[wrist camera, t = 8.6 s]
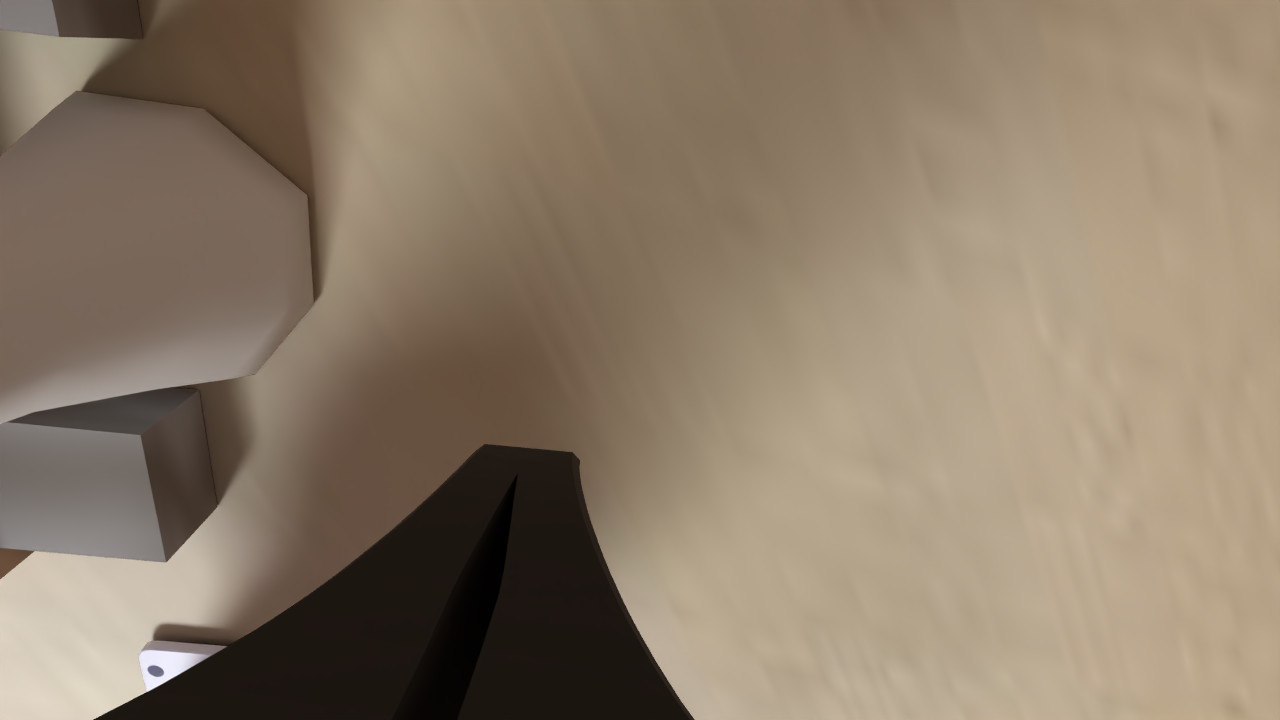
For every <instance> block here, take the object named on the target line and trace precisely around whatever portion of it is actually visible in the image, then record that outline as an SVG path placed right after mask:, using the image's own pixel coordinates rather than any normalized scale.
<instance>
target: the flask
mask: <svg viewBox="0 0 1280 720" xmlns="http://www.w3.org/2000/svg"><path fill="white" fill-rule="evenodd" d="M313 305H314V300H313V283H312V266H311V249H310V232H309V214H308V197H307V195H306V194H305V193H304V192H303V191H301V190H300V189H299V188H298V187H297V186H295V185H294V184H293V183H292V182H291V181H290V180H288V179H287V178H286V177H285V176H284V175H282V174H281V173H280V172H279V171H278V170H276V169H275V168H274V167H273V166H272V165H270V164H269V163H268V162H267V161H266V160H264V159H263V158H262V157H261V156H260V155H258V154H257V153H256V152H255V151H254V150H252V149H251V148H250V147H249V146H248V145H246V144H245V143H244V142H243V141H242V140H240V139H239V138H238V137H237V136H236V135H234V134H233V133H232V132H231V131H230V130H228V129H227V128H226V127H225V126H224V125H222V124H221V123H220V122H219V121H218V120H216V119H215V118H214V117H213V116H212V115H210V114H209V113H208V112H207V111H206V110H204V109H202V108H195V107H188V106H181V105H174V104H167V103H160V102H152V101H145V100H138V99H131V98H124V97H117V96H110V95H103V94H96V93H88V92H81V91H76V92H74V93H73V94H72V95H71V96H69V97H68V98H67V99H66V100H64V101H63V102H62V103H60V104H59V105H58V106H57V107H55V108H54V109H53V110H52V111H51V112H50V113H48V114H47V115H46V116H45V117H44V118H43V119H42V120H40V121H39V122H38V123H37V124H36V125H35V126H34V127H33V128H31V129H30V130H29V131H28V132H27V133H26V134H25V135H24V136H22V137H21V138H20V139H19V140H18V141H17V142H16V143H15V144H13V145H12V146H11V147H10V148H9V149H8V150H7V151H5V152H4V153H3V154H2V155H1V156H0V424H2V423H5V422H7V421H10V420H13V419H16V418H19V417H22V416H24V415H27V414H30V413H33V412H37V411H42V410H48V409H53V408H58V407H64V406H69V405H75V404H80V403H85V402H91V401H96V400H101V399H107V398H112V397H117V396H123V395H128V394H133V393H139V392H144V391H149V390H156V389H163V388H170V387H177V386H184V385H191V384H198V383H205V382H212V381H220V380H227V379H233V378H238V377H243V376H249V375H254V374H255V373H256V372H257V371H258V370H259V369H260V368H261V366H262V365H263V364H264V363H265V362H266V360H267V359H268V358H269V357H270V356H271V354H272V353H273V352H274V351H275V350H276V349H277V347H278V346H279V345H280V344H281V343H282V341H283V340H284V339H285V338H286V337H287V335H288V334H289V333H290V332H291V331H292V330H293V328H294V327H295V326H296V325H297V324H298V322H299V321H300V320H301V319H302V318H303V317H304V315H305V314H306V313H307V312H308V311H309V309H310V308H311V307H312V306H313Z"/></svg>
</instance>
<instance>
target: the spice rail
mask: <svg viewBox="0 0 1280 720" xmlns="http://www.w3.org/2000/svg"><path fill="white" fill-rule="evenodd" d="M0 29H1V30H9V31H17V32H25V33H33V34H41V35H49V36H57V37H87V38H126V39H143V34H142V28H141V22H140V16H139V9H138V3H137V0H0ZM216 508H217V501H216V495H215V489H214V482H213V476H212V470H211V463H210V457H209V451H208V445H207V438H206V432H205V426H204V419H203V413H202V407H201V400H200V394H199V390H194V389H184V388H174V387H170V388H163V389H156V390H149V391H144V392H139V393H133V394H128V395H123V396H117V397H112V398H107V399H101V400H96V401H91V402H85V403H80V404H75V405H69V406H64V407H58V408H53V409H48V410H42V411H37V412H33V413H30V414H27V415H24V416H22V417H19V418H16V419H13V420H10V421H7V422H5V423H2V424H0V579H1V578H2V577H4V576H5V575H6V574H7V573H8V572H10V571H11V570H12V569H13V568H15V567H16V566H17V565H18V564H19V563H21V562H22V561H23V560H24V559H25V558H27V557H28V556H29V555H30V554H31V553H33V552H34V551H41V552H53V553H64V554H76V555H87V556H98V557H110V558H121V559H132V560H144V561H155V562H167V561H168V560H169V559H170V558H171V557H172V556H173V555H174V554H175V552H176V551H177V550H178V549H179V548H180V547H181V546H182V545H183V544H184V543H185V542H186V540H187V539H188V538H189V537H190V536H191V535H192V534H193V533H194V532H195V531H196V530H197V529H198V527H199V526H200V525H201V524H202V523H203V522H204V521H205V520H206V519H207V518H208V517H209V516H210V514H211V513H212V512H213V511H214V510H215V509H216Z"/></svg>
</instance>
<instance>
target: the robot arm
mask: <svg viewBox="0 0 1280 720" xmlns="http://www.w3.org/2000/svg"><path fill="white" fill-rule="evenodd" d="M579 465H580V460H579V459H578V458H577V457H576V456H575V454H574V453H573V452H564V451H553V450H542V449H531V448H521V447H510V446H499V445H488V444H484V445H483V446H482V447H480V448H479V449H478V450H476V451H475V452H474V453H473V454H472V455H471V456H470V457H469V458H468V459H467V460H466V461H465V462H464V463H463V464H462V465H461V466H460V467H459V468H458V469H457V470H456V471H455V472H454V473H453V474H452V475H451V476H450V477H449V478H448V479H447V480H446V481H445V482H444V483H443V484H442V485H441V486H440V487H439V488H438V489H437V490H436V491H435V492H434V493H433V494H432V495H431V496H429V497H428V498H427V499H426V500H425V501H424V502H423V503H422V504H421V505H419V506H418V507H417V508H416V509H415V510H414V511H413V512H412V513H411V514H409V515H408V516H407V517H406V518H405V519H404V520H403V521H402V522H401V523H399V524H398V525H397V526H396V527H395V528H394V529H393V530H391V531H390V532H389V533H388V534H387V535H385V536H384V537H383V538H382V539H380V540H379V541H378V542H377V543H375V544H374V545H373V546H372V547H370V548H369V549H368V550H367V551H365V552H364V553H363V554H362V555H360V556H359V557H358V558H357V559H355V560H354V561H353V562H352V563H350V564H349V565H348V566H347V567H345V568H344V569H343V570H342V571H340V572H339V573H338V574H336V575H335V576H334V577H332V578H331V579H330V580H328V581H327V582H325V583H324V584H323V585H321V586H320V587H319V588H317V589H316V590H315V591H313V592H312V593H310V594H309V595H307V596H306V597H305V598H303V599H302V600H300V601H299V602H297V603H296V604H294V605H293V606H291V607H290V608H288V609H287V610H285V611H284V612H282V613H281V614H279V615H278V616H276V617H275V618H273V619H272V620H270V621H269V622H267V623H266V624H264V625H262V626H261V627H259V628H258V629H256V630H254V631H253V632H251V633H250V634H248V635H246V636H244V637H243V638H241V639H239V640H237V641H236V642H234V643H232V644H230V645H229V646H219V645H207V644H194V643H182V642H170V641H151V642H148V643H147V644H146V645H145V646H144V648H143V649H142V650H141V651H140V653H139V661H140V666H141V670H142V674H143V678H144V682H145V686H146V690H147V692H146V693H144V694H142V695H140V696H138V697H136V698H134V699H133V700H131V701H129V702H127V703H125V704H123V705H121V706H119V707H117V708H115V709H113V710H111V711H109V712H107V713H105V714H103V715H102V716H100V717H98V718H96V719H94V720H694V718H693V717H692V716H691V714H690V713H689V711H688V710H687V709H686V707H685V706H684V705H683V703H682V702H681V700H680V699H679V697H678V696H677V694H676V693H675V691H674V690H673V688H672V686H671V685H670V683H669V682H668V680H667V678H666V677H665V675H664V674H663V672H662V670H661V669H660V667H659V666H658V664H657V662H656V661H655V659H654V657H653V656H652V654H651V652H650V650H649V649H648V647H647V645H646V643H645V642H644V640H643V638H642V636H641V635H640V633H639V631H638V629H637V627H636V625H635V624H634V622H633V620H632V618H631V616H630V614H629V612H628V610H627V608H626V606H625V604H624V602H623V600H622V598H621V595H620V593H619V591H618V589H617V587H616V585H615V582H614V580H613V578H612V576H611V574H610V571H609V569H608V566H607V564H606V562H605V559H604V557H603V554H602V551H601V549H600V546H599V543H598V540H597V538H596V535H595V532H594V529H593V526H592V524H591V520H590V517H589V514H588V511H587V507H586V503H585V499H584V495H583V491H582V486H581V480H580V470H579Z"/></svg>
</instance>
